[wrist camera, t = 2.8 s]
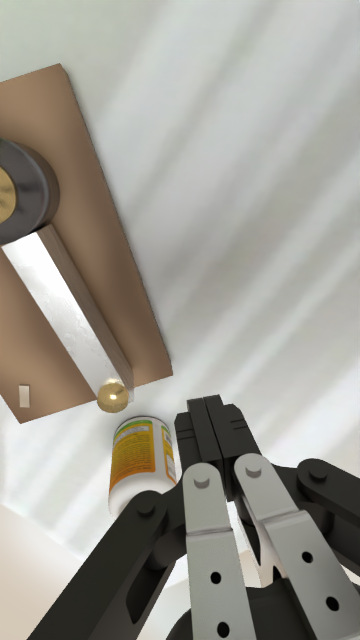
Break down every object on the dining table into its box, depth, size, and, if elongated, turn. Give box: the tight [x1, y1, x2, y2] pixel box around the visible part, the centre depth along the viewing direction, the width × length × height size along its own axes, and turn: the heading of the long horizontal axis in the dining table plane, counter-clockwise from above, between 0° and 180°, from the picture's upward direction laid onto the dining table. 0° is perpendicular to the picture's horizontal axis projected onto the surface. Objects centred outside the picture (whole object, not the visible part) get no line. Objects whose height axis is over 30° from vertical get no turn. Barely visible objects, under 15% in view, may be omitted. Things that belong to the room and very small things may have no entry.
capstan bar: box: [0, 137, 134, 413], centre depth 19 cm, size 17×5×5 cm, turn 21°
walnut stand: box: [0, 63, 173, 424], centre depth 22 cm, size 13×21×2 cm, turn 16°
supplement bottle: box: [108, 417, 177, 521], centre depth 26 cm, size 5×5×10 cm
